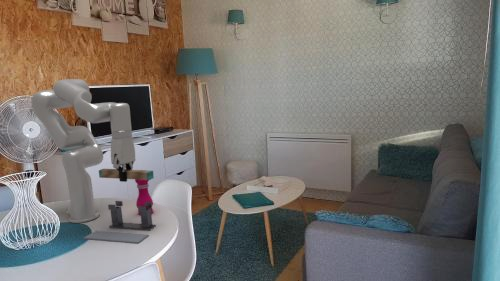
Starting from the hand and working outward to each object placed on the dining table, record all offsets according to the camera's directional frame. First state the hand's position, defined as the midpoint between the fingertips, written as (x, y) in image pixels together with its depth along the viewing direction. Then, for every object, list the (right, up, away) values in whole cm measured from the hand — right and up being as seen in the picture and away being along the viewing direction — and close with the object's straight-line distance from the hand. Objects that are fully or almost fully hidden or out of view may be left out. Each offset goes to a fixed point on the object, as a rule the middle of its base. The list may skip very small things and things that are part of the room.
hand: (126, 179), depth 153 cm
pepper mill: (+3, -17, +19) cm, 26 cm away
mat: (-2, -21, -7) cm, 23 cm away
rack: (+2, -20, +3) cm, 20 cm away
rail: (0, +1, 0) cm, 1 cm away
